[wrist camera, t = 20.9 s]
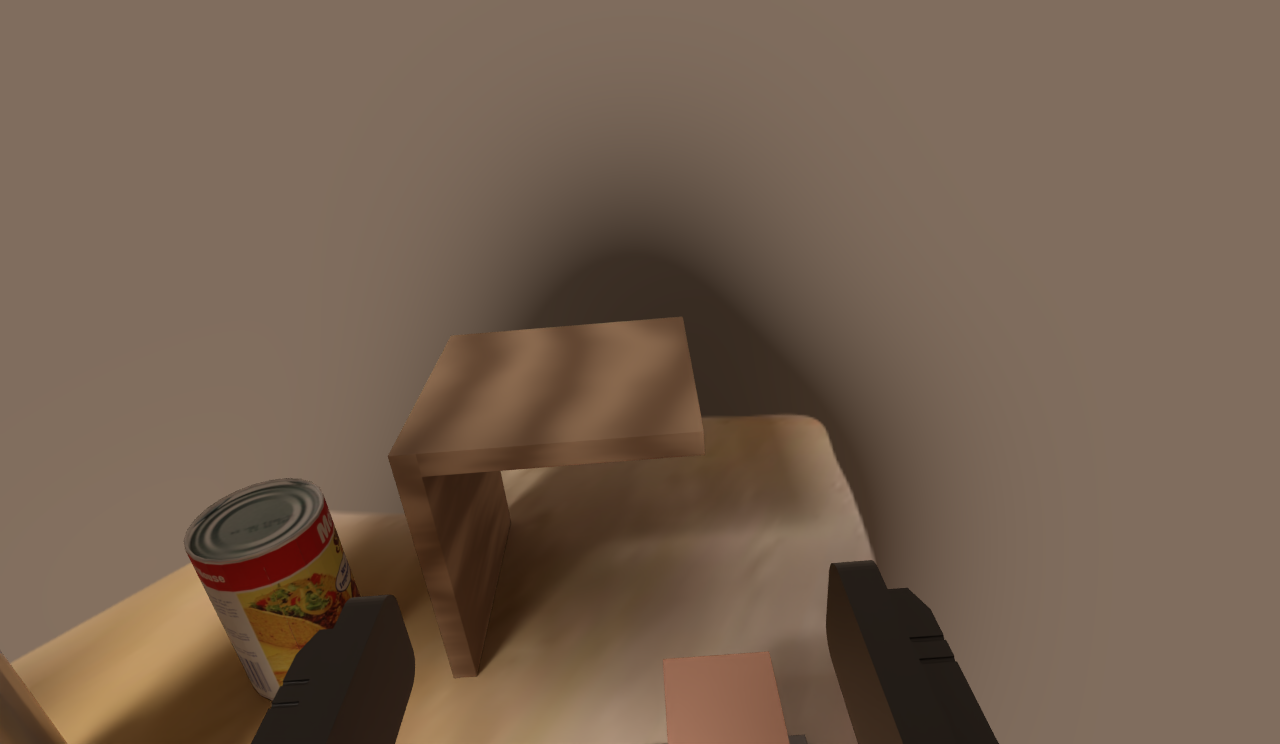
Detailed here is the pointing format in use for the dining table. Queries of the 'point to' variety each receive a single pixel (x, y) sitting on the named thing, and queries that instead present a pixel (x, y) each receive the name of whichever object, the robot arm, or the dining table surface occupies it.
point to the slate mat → (797, 739)
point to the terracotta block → (723, 700)
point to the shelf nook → (528, 442)
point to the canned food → (271, 572)
